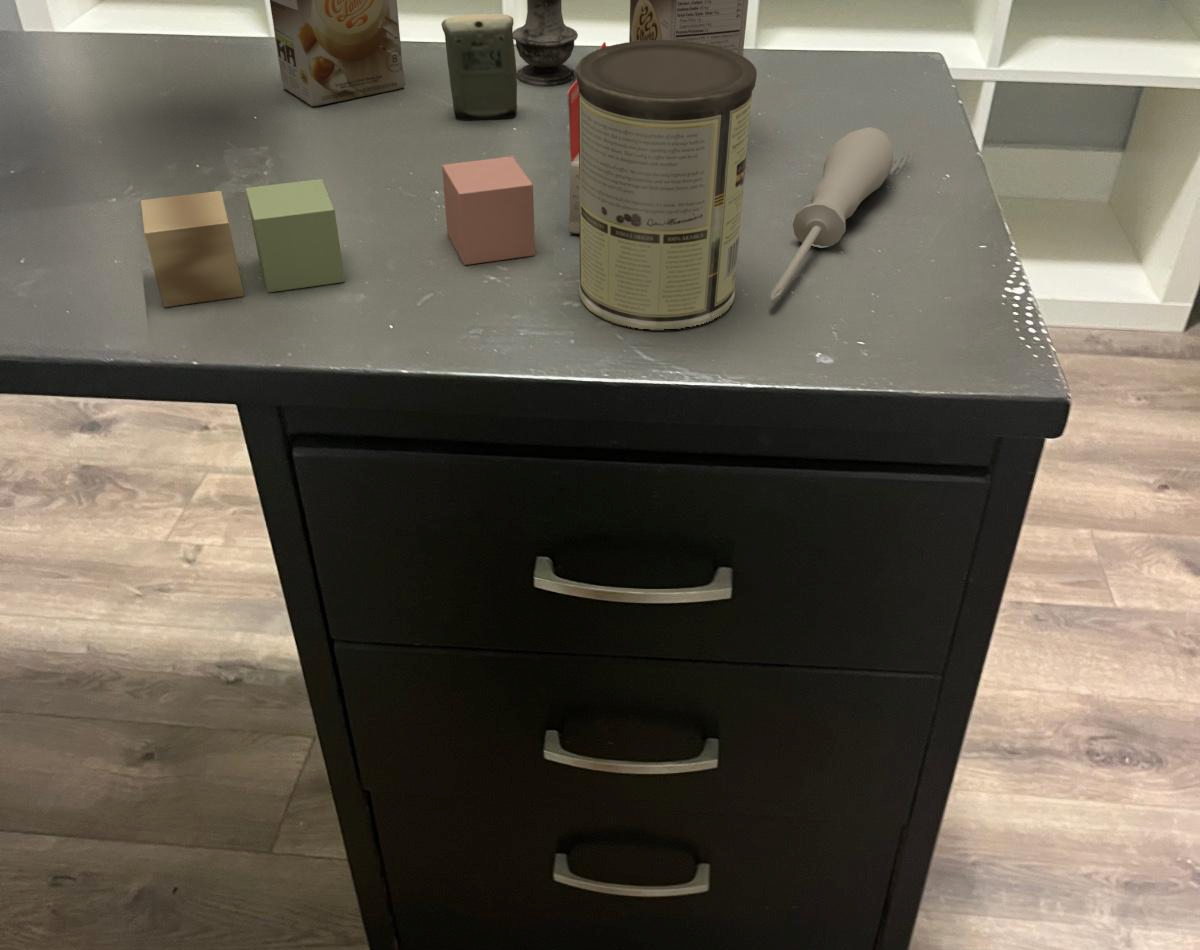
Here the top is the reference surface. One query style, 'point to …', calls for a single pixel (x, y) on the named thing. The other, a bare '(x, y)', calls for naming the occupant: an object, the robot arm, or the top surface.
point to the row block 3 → (489, 210)
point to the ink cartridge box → (574, 156)
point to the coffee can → (661, 180)
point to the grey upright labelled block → (481, 66)
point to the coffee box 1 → (337, 48)
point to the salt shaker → (545, 44)
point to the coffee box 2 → (690, 21)
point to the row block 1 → (191, 248)
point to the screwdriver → (840, 192)
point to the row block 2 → (295, 235)
